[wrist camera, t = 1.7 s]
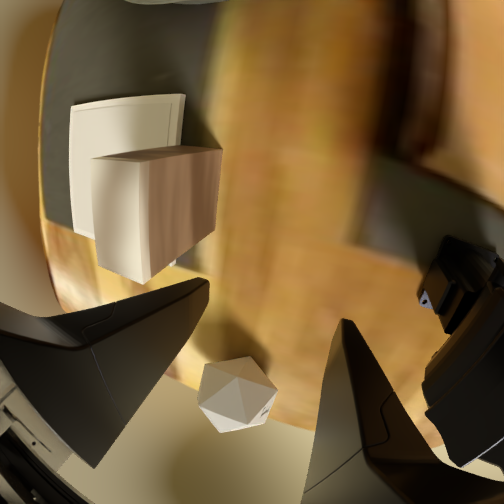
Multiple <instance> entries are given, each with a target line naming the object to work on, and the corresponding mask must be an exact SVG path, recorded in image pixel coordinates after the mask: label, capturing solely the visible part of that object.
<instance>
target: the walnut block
mask: <svg viewBox="0 0 504 504" xmlns="http://www.w3.org/2000/svg"><path fill="white" fill-rule="evenodd" d="M222 153H223V149H215V148H207V147H197V146H187V145H175V146H166V147H158V148H150V149H143V150H136V151H130V152H124V153H118V154H112V155H107V156H101V157H96V158H92V159H91V198H92V213H93V225H94V235H95V243H96V251H97V258H98V265H99V266H100V267H103V268H105V269H107V270H110V271H112V272H114V273H117V274H119V275H121V276H124V277H126V278H128V279H131V280H133V281H136V282H138V283H141V284H144V283H146V282H147V281H148V280H150V279H151V278H152V277H153V276H155V275H156V274H157V273H159V272H160V271H161V270H162V269H164V268H165V267H166V266H168V265H169V264H170V263H171V262H173V261H174V260H175V259H177V258H178V257H179V256H181V255H182V254H183V253H185V252H186V251H187V250H189V249H190V248H191V247H193V246H194V245H195V244H197V243H198V242H199V241H201V240H202V239H203V238H205V237H206V236H207V235H209V234H210V233H211V232H213V231H214V230H215V224H216V213H217V201H218V191H219V181H220V171H221V162H222Z"/></svg>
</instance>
